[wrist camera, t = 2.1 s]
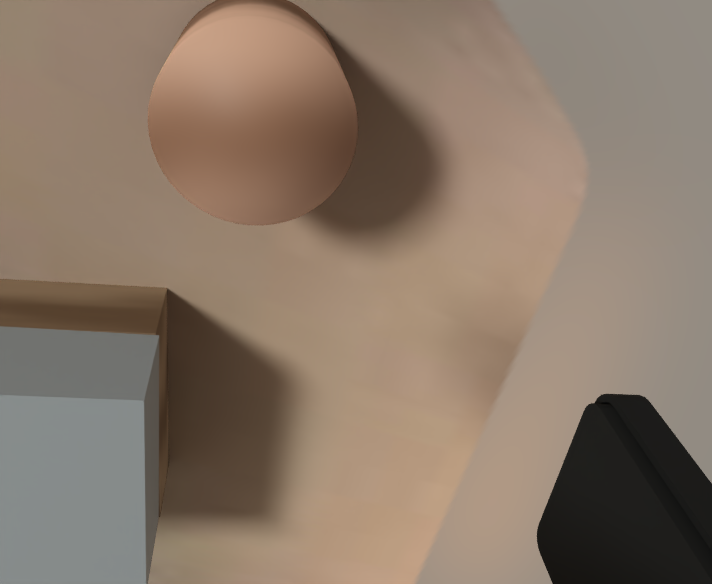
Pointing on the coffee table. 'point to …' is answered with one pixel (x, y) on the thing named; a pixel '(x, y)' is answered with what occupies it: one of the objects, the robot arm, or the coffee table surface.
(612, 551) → the robot arm
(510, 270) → the coffee table surface
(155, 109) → the drum
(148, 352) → the upper slab
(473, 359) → the coffee table surface
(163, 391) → the lower slab
